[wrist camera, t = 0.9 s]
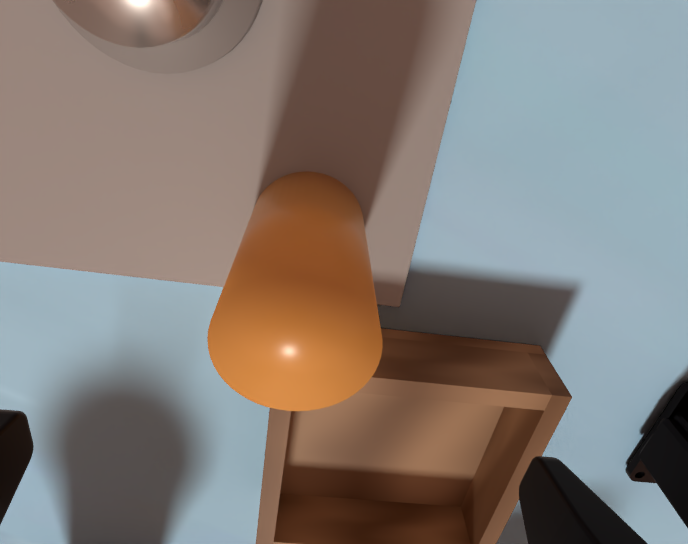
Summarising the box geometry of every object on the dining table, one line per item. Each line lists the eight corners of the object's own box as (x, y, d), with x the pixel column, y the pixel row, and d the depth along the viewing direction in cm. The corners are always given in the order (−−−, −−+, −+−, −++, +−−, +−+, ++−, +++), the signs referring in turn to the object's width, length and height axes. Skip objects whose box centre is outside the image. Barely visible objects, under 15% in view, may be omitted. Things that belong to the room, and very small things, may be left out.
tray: (540, 345, 20) (572, 397, 18) (468, 506, 26) (484, 565, 23) (281, 317, 19) (274, 367, 17) (263, 491, 25) (255, 551, 22)
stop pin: (372, 180, 16) (398, 283, 10) (354, 279, 18) (366, 417, 12) (255, 163, 16) (208, 261, 10) (249, 267, 18) (206, 403, 12)
